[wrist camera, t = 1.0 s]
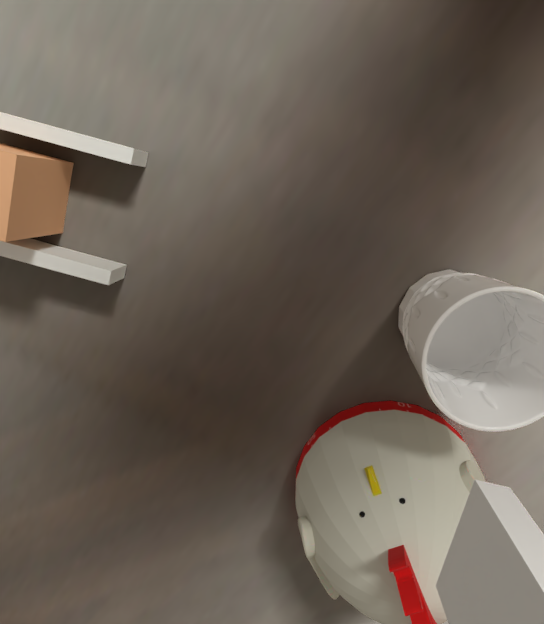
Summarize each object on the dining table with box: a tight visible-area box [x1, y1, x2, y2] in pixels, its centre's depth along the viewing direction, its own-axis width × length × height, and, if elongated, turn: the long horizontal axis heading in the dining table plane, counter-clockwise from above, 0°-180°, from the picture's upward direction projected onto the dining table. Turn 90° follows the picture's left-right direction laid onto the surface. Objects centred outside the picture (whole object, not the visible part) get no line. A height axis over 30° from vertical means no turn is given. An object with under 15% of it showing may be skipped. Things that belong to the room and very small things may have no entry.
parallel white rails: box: [0, 112, 148, 285], centre depth 33 cm, size 9×12×3 cm
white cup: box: [398, 269, 544, 432], centre depth 30 cm, size 8×8×10 cm
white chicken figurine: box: [295, 401, 486, 624], centre depth 31 cm, size 14×14×15 cm
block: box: [0, 143, 74, 242], centre depth 31 cm, size 5×5×7 cm
